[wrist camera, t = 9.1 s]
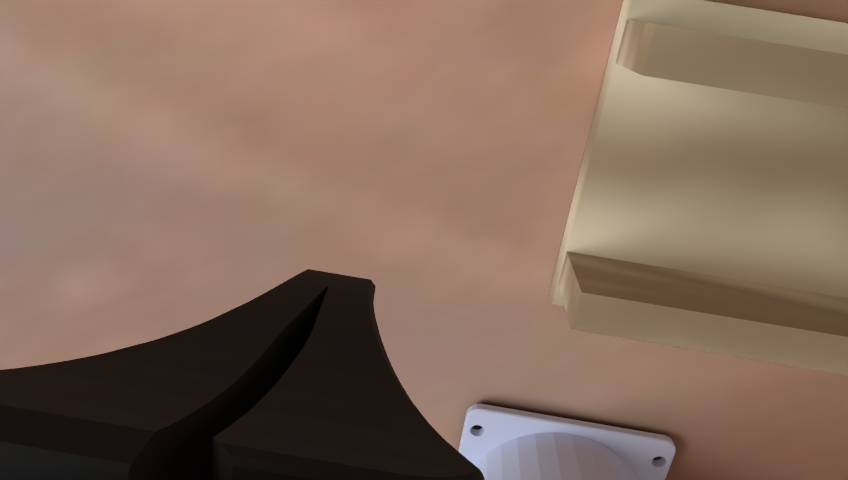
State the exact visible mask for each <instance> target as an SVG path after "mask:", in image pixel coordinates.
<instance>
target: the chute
mask: <svg viewBox="0 0 848 480" xmlns="http://www.w3.org/2000/svg"><path fill="white" fill-rule="evenodd" d="M549 292H550V296H551V300H552V304H553V305H557V306H563V307H565V309H566V312H567V315H568V319H569V322H570V326H571V329H574V330H580V331H586V332H591V333H597V334H603V335H609V336H615V337H621V338H627V339H633V340H639V341H645V342H651V343H657V344H663V345H668V346H674V347H680V348H686V349H692V350H698V351H704V352H710V353H716V354H722V355H728V356H734V357H740V358H746V359H751V360H757V361H763V362H769V363H775V364H781V365H787V366H793V367H799V368H805V369H811V370H817V371H823V372H828V373H834V374H840V375H846V376H848V23H842V22H836V21H830V20H824V19H817V18H811V17H805V16H799V15H793V14H786V13H780V12H774V11H768V10H761V9H755V8H749V7H743V6H736V5H730V4H724V3H718V2H711V1H705V0H623V4H622V8H621V12H620V16H619V20H618V24H617V28H616V32H615V36H614V40H613V44H612V47H611V51H610V55H609V59H608V63H607V67H606V71H605V75H604V79H603V83H602V87H601V91H600V95H599V99H598V102H597V106H596V110H595V114H594V118H593V122H592V126H591V130H590V134H589V138H588V142H587V146H586V150H585V154H584V158H583V161H582V165H581V169H580V173H579V177H578V181H577V185H576V189H575V193H574V197H573V201H572V205H571V209H570V213H569V217H568V220H567V224H566V228H565V232H564V236H563V240H562V244H561V248H560V252H559V256H558V260H557V264H556V268H555V272H554V275H553V279H552V283H551V287H550V291H549Z"/></svg>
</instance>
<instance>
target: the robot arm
mask: <svg viewBox="0 0 848 480" xmlns="http://www.w3.org/2000/svg"><path fill="white" fill-rule="evenodd" d="M374 293H375V285H374V284H373V282H372V281H371V280H369V279H363V278H357V277H351V276H345V275H339V274H333V273H328V272H322V271H316V270H310V269H308V270H306V271H304V272H302V273H300V274H298V275H296V276H295V277H293V278H291V279H289V280H288V281H286V282H284V283H282V284H280V285H279V286H277V287H275V288H273V289H272V290H270V291H268V292H266V293H264V294H262V295H261V296H259V297H257V298H255V299H253V300H251V301H249V302H247V303H245V304H243V305H241V306H239V307H237V308H235V309H233V310H230V311H228V312H226V313H224V314H222V315H220V316H218V317H216V318H214V319H211V320H209V321H207V322H204V323H202V324H199V325H197V326H194V327H192V328H189V329H186V330H183V331H181V332H178V333H175V334H172V335H169V336H166V337H163V338H160V339H157V340H154V341H150V342H146V343H142V344H138V345H135V346H131V347H127V348H123V349H119V350H116V351H112V352H108V353H104V354H99V355H95V356H90V357H85V358H80V359H74V360H69V361H63V362H57V363H51V364H45V365H38V366H31V367H24V368H16V369H6V370H0V480H665V479H666V476H667V474H668V471H669V468H670V466H671V463H672V461H673V458H674V455H675V452H676V448H675V445H674V443H673V441H672V439H671V438H670V437H668V436H665V435H661V434H655V433H649V432H644V431H638V430H632V429H626V428H620V427H614V426H608V425H603V424H597V423H591V422H585V421H579V420H573V419H567V418H562V417H556V416H550V415H544V414H538V413H532V412H527V411H521V410H515V409H509V408H503V407H497V406H491V405H486V404H475V405H472V406H471V407H469V408H468V410H467V412H466V417H465V422H464V426H463V431H462V436H461V440H460V445H459V450H458V451H457V450H456V449H455V448H453V447H452V446H451V445H450V444H449V443H447V442H446V441H445V440H444V439H443V438H442V437H441V436H440V435H439V434H438V433H437V432H436V431H435V429H434V428H433V427H432V426H431V425H430V424H429V423H428V422H427V421H426V419H425V418H424V417H423V416H422V414H421V413H420V412H419V410H418V409H417V408H416V406H415V405H414V404H413V403H412V401H411V400H410V398H409V396H408V395H407V393H406V391H405V390H404V388H403V387H402V385H401V383H400V381H399V379H398V378H397V376H396V374H395V372H394V370H393V368H392V366H391V363H390V361H389V359H388V356H387V354H386V351H385V349H384V346H383V343H382V340H381V337H380V334H379V330H378V326H377V322H376V318H375V313H374V306H373V301H374ZM474 425H479V426H482V427H483V428H481V429H478V430H476V429H473V428H472V426H474ZM659 456H661V457H662V458H661V459H659V460H653V459H654V458H655V457H659Z"/></svg>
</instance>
